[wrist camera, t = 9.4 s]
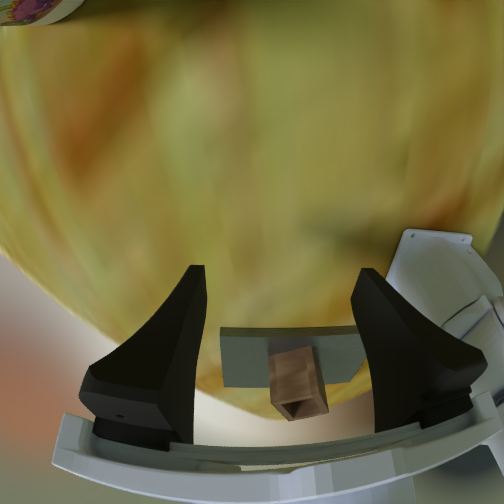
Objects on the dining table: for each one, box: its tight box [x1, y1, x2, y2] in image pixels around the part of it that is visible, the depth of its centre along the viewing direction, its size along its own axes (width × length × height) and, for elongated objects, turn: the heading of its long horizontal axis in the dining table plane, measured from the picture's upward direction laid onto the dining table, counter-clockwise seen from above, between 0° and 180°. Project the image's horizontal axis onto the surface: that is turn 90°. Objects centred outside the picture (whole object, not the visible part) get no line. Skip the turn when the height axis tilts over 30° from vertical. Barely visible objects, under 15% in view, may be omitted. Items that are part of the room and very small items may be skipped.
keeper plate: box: [220, 326, 367, 388], centre depth 31 cm, size 18×12×5 cm, turn 88°
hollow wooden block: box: [268, 345, 329, 421], centre depth 29 cm, size 5×7×6 cm
